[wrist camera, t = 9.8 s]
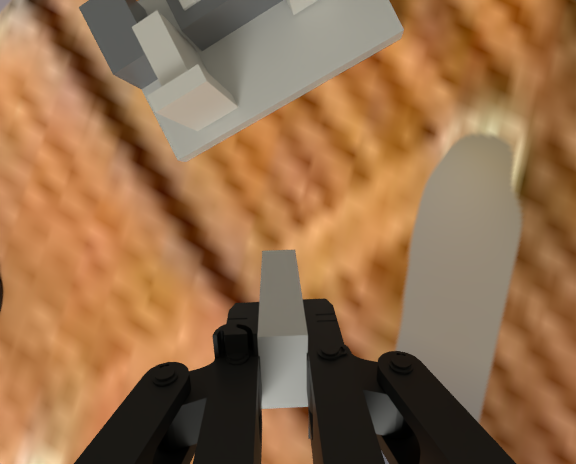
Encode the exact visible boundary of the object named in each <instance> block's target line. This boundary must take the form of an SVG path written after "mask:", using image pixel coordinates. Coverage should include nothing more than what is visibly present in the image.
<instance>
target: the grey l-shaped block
mask: <svg viewBox="0 0 576 464" xmlns="http://www.w3.org/2000/svg"><path fill="white" fill-rule="evenodd" d="M132 29H133V31H134V33H135V35H136V37H137V39H138V41H139V43H140V45H141V47H142V49H143V51H144V53H145V55H146V56H147V58H148V60H149V62H150V64H151V66H152V68H153V70H154V72H155V74H156V76H157V78H158V80H159V82H160V84H161V86H162V87H160V88H159V89H157V90H156V91H154V92H152V93H151V94H149V95H148V96H147V98H148V100H149V102H150V104H151V106H152V107H153V109H154V111H155V113H157V114H159V115H162V116H164V117H166V118H168V119H171V120H173V121H175V122H178V123H180V124H182V125H184V126H187V127H189V128H191V129H193V130H196V131H199V130H201V129H203V128H204V127H206V126H208V125H210V124H211V123H213V122H215V121H216V120H218V119H220V118H222V117H223V116H225V115H227V114H228V113H230V112H232V111H233V110H235V109H237V108H239V107H238V105H237V103H236V101H235V99H234V97H233V95H232V94H231V93H230V92H229V91H228V90H227V89H225V88H224V87H223V86H222V85H221V84H220V83H219V82H218V81H217V80H215V79H214V78H213V77H212V76H211V75H210V74H209V73H208V72H207V70H206V68H205V66H204V64H203V62H202V60H201V58H200V56H199V54H198V52H197V50H196V48H195V47H194V46H193V45H192V44H191V43H190V42H189V41H188V40H187V39H186V38H185V37H184V36H183V35H182V34H181V33H180V32H179V31H178V30H177V29H176V28H175V27H174V26H173V25H172V24H171V23H170V22H169V21H168V20H167V19H166V18H165V17H164V16H163V15H162V14H161V13H160V12H159V11H158V10H156V11H155V12H153V13H152V14H150V15H149V16H147V17H146V18H144V19H143V20H141V21H140V22H139V23H137V24H136V25H134V26H133V27H132Z"/></svg>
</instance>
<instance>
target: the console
mask: <svg viewBox="0 0 576 464" xmlns="http://www.w3.org/2000/svg"><path fill="white" fill-rule="evenodd" d="M79 9H80V11H81V13H82V14H83V16H84V18H85V20H86V22H87V24H88V26H89V28H90V30H91V32H92V34H93V36H94V38H95V40H96V42H97V44H98V46H99V48H100V50H101V52H102V53H103V55H104V57H105V59H106V61H107V63H108V65H109V67H110V69H111V71H112V73H113V75H115V76H117V77H119V78H121V79H123V80H125V81H127V82H129V83H130V84H132V85H134V86H136V87H138V88H140V89H142V91H143V93H144V95H145V97H146V99H147V101H148V103H149V105H150V107H151V109H152V111H153V113H154V115H155V117H156V119H157V121H158V122H159V124H160V126H161V128H162V130H163V132H164V134H165V136H166V138H167V140H168V142H169V144H170V146H171V148H172V150H173V152H174V154H175V156H176V158H177V160H178V161H183V162H187V161H188V160H190V159H192V158H194V157H195V156H197V155H199V154H201V153H202V152H204V151H206V150H208V149H209V148H211V147H213V146H215V145H216V144H218V143H220V142H222V141H223V140H225V139H227V138H229V137H230V136H232V135H234V134H236V133H237V132H239V131H241V130H243V129H244V128H246V127H248V126H250V125H251V124H253V123H255V122H257V121H258V120H260V119H262V118H264V117H265V116H267V115H269V114H270V113H272V112H274V111H276V110H277V109H279V108H281V107H283V106H284V105H286V104H288V103H290V102H291V101H293V100H295V99H297V98H298V97H300V96H302V95H304V94H305V93H307V92H309V91H311V90H312V89H314V88H316V87H318V86H319V85H321V84H323V83H325V82H326V81H328V80H330V79H332V78H333V77H335V76H337V75H339V74H340V73H342V72H344V71H346V70H347V69H349V68H351V67H352V66H354V65H356V64H358V63H359V62H361V61H363V60H365V59H366V58H368V57H370V56H372V55H373V54H375V53H377V52H379V51H380V50H382V49H384V48H386V47H387V46H389V45H391V44H393V43H394V42H396V41H398V40H400V39H401V37H402V34H403V31H404V29H403V27H402V25H401V23H400V21H399V19H398V17H397V15H396V13H395V11H394V9H393V7H392V5H391V3H390V1H389V0H318V1H316V2H314V3H313V4H311V5H310V6H308V7H306V8H305V9H303V10H302V11H300V12H298V13H297V14H295V15H293V13H292V11H291V9H290V7H289V5H288V3H287V1H286V0H139V1H136V0H89V1H87V2H86V3H84V4H83V5H82V6H80V7H79ZM156 10H158V11H159V12H160V13H161V14H162V15H163V16H164V17H165V18H166V19H167V20H168V21H169V22H170V23H171V24H172V25H173V26H174V27H175V28H176V29H177V30H178V31H179V32H180V33H181V34H182V35H183V36H184V37H185V38H186V39H187V40H188V41H189V42H190V43H191V44H192V45H193V46H194V47H195V48H196V50H197V52H198V54H199V56H200V58H201V60H202V62H203V64H204V66H205V68H206V70H207V72H208V73H209V74H210V75H211V76H212V77H213V78H214V79H215V80H217V81H218V82H219V83H220V84H221V85H222V86H223V87H224V88H225V89H227V90H228V91H229V92H230V93H231V94H232V95H233V97H234V99H235V101H236V103H237V105H238V107H239V108H237V109H235V110H233V111H232V112H230V113H228V114H227V115H225V116H223V117H222V118H220V119H218V120H216V121H215V122H213V123H211V124H210V125H208V126H206V127H204V128H203V129H201V130H199V131H196V130H193V129H191V128H189V127H187V126H184V125H182V124H180V123H178V122H175V121H173V120H171V119H168V118H166V117H164V116H162V115H159V114H157V113H155V111H154V109H153V107H152V106H151V104H150V102H149V100H148V98H147V96H148V95H149V94H151V93H152V92H154V91H156V90H157V89H159V88H160V87H162V86H161V84H160V82H159V80H158V78H157V76H156V74H155V72H154V70H153V68H152V66H151V64H150V62H149V60H148V58H147V56H146V55H145V53H144V51H143V49H142V47H141V45H140V43H139V41H138V39H137V37H136V35H135V33H134V31H133V29H132V27H133V26H134V25H136V24H137V23H139V22H140V21H141V20H143V19H144V18H146V17H147V16H149V15H150V14H152V13H153V12H155V11H156Z"/></svg>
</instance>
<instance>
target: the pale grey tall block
mask: <svg viewBox="0 0 576 464" xmlns="http://www.w3.org/2000/svg"><path fill="white" fill-rule="evenodd" d="M286 1H287V3H288V5H289V7H290V9H291V11H292V13H293V15H295V14H297V13H298V12H300V11H302V10H303V9H305V8H306V7H308V6H310V5H311V4H313V3H314V2H316V1H318V0H286Z"/></svg>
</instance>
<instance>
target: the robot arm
mask: <svg viewBox="0 0 576 464" xmlns="http://www.w3.org/2000/svg"><path fill="white" fill-rule="evenodd" d="M1 304H2V287H1V281H0V309H1ZM213 344H214V353H215V361H214V362H212V363H211V364H209V365H207V366H205V367H203V368H200V369H196V370H193V371H188V368H187V367H186V366H185V365H184V364H181V363H178V362H167V363H163V364H159V365H157V366H155V367H153V368H151V369H150V370H149V371H148V372H147V373H146V374H145V375H144V376H143V377H142V378H141V380H140V381H139V382H138V383H137V385H136V386H135V387H134V388H133V390H132V391H131V392H130V393H129V395H128V396H127V397H126V399H125V400H124V401H123V402H122V404H121V405H120V406H119V407H118V409H117V410H116V411H115V412H114V414H113V415H112V416H111V417H110V419H109V420H108V421H107V422H106V424H105V425H104V426H103V428H102V429H101V430H100V431H99V433H98V434H97V435H96V436H95V438H94V439H93V440H92V441H91V443H90V444H89V445H88V446H87V448H86V449H85V450H84V452H83V453H82V454H81V455H80V457H79V458H78V459H77V460H76V462H75V463H74V464H190V462H191V460H192V458H193V456H194V454H195V456H194V461H193V464H261V449H262V411H261V409H268V408H289V407H308V406H309V439H311V446H312V455H313V464H385V462H384V458H383V455H382V452H383V454H384V455H385V457H386V459H387V461H388V462H389V464H516V463H515V462H514V461H513V460H512V458H511V457H510V456H509V455H508V454H507V453H506V452H505V451H504V450H503V449H502V448H501V447H500V446H499V445H498V443H497V442H496V441H495V440H494V439H493V438H492V437H491V436H490V435H489V434H488V433H487V432H486V431H485V430H484V428H483V427H482V426H481V425H480V424H479V423H478V422H477V421H476V420H475V419H474V418H473V417H472V416H471V415H470V413H469V412H468V411H467V410H466V409H465V408H464V407H463V406H462V405H461V404H460V403H459V402H458V401H457V400H456V398H454V396H452V394H451V393H450V392H449V391H448V390H447V389H446V388H445V387H444V386H443V385H442V384H441V383H440V381H439V380H438V379H437V378H436V377H435V376H434V375H433V374H432V373H431V372H430V371H429V370H428V369H427V367H426V366H425V365H424V364H423V363H422V362H421V361H420V360H419V359H417V358H416V357H415V356H413V355H410V354H408V353H405V352H400V351H391V352H387V353H384V354H382V355H381V356H380V357H379V359H378V362H374V361H369V360H364V359H361V358H358V357H356V356H354V355H353V354H352V353H351V351H350V349H349V348H348V347H347V346H346V345H344V342H343V338H342V335H341V332H340V328H339V325H338V321H337V318H336V315H335V311H334V307H333V305H332V304H331V303H330V302H329V301H328V300H327V299H305V300H303V299H302V293H301V286H300V280H299V273H298V266H297V260H296V253H295V250H274V251H262V268H261V285H260V302H251V303H235V304H234V306H233V307H232V308H231V309H230V310H229V313H228V318H227V323H226V324H225V325H223V326H221V327H219V328H218V329H217V330H215V332H214V334H213ZM381 450H382V452H381Z"/></svg>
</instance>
